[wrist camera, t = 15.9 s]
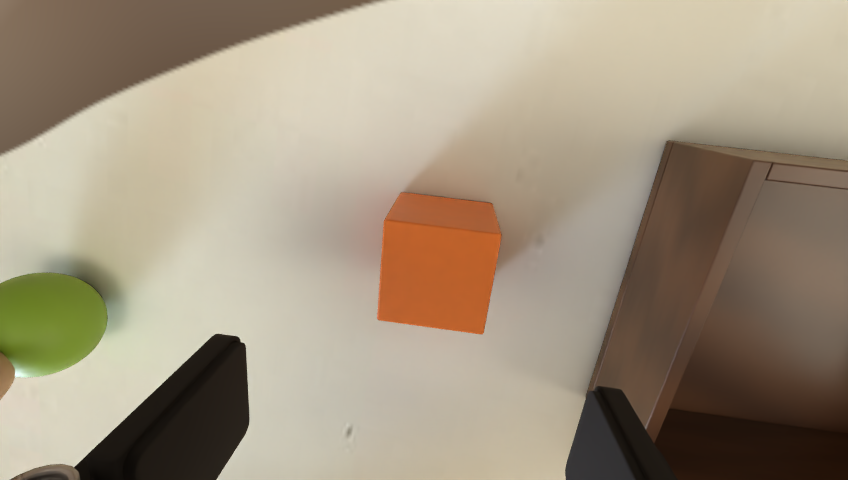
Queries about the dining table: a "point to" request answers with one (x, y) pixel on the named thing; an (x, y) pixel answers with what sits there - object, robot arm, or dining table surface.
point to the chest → (738, 316)
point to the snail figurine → (47, 325)
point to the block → (438, 262)
